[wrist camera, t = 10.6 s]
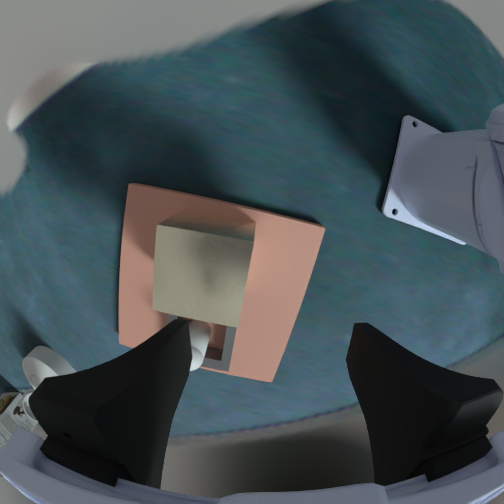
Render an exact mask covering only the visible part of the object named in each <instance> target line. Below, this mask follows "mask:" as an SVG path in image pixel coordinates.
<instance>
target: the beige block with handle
mask: <svg viewBox="0 0 504 504" xmlns="http://www.w3.org/2000/svg"><path fill="white" fill-rule="evenodd" d="M255 228H256V222H252V221H247V220H241V219H235V218H230V217H224V216H218V215H212V214H206V213H200V212H194V211H188V210H181V211H180V212H178V213H176V214H174V215H173V216H171V217H169V218H167V219H166V220H164V221H162V222H160V223H159V224H157V229H156V242H155V256H154V273H153V301H152V310H155V311H159V312H163V313H168V324H169V323H170V322H171V321H173V320H174V319H181V320H182V317H186V318H190V319H195V320H200V321H205V322H210V323H215V324H220V325H226V326H227V329H226V335H225V341H224V347H223V349H218V348H213V347H207V349H206V352H205V356H204V359H203V363H202V364H201V367H206V368H211V369H216V370H222V371H227V372H229V367H230V362H231V356H232V351H233V346H234V340H235V335H236V329H237V328H238V325H239V320H240V314H241V309H242V304H243V298H244V293H245V288H246V282H247V277H248V272H249V266H250V261H251V256H252V250H253V245H254V238H255Z"/></svg>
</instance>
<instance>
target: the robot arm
mask: <svg viewBox="0 0 504 504" xmlns="http://www.w3.org/2000/svg"><path fill="white" fill-rule="evenodd" d="M413 122H414V123H415V127H414V126H413V124H412V123H413ZM485 127H486V129H484V130H470V131H459V132H449V133H442V132H440V131H439V130H437V129H435V128H433V127H431V126H429V125H428V124H426V123H424V122H422V121H420V120H418V119H416V118H414V117H412V116H410V115H407V116H404V117H403V119H402V124H401V130H400V135H399V140H398V145H397V149H396V154H395V158H394V163H393V167H392V171H391V175H390V179H389V183H388V187H387V191H386V195H385V198H384V202H383V206H382V213H383V214H384V215H385V216H387V217H390V218H393V219H396V220H399V221H402V222H404V223H407V224H410V225H413V226H416V227H418V228H421V229H424V230H426V231H429V232H432V233H434V234H437V235H439V236H442V237H444V238H447V239H450V240H452V241H454V242H457V243H459V244H462V245H465V244H466V243H467V244H469V245H471V246H473V247H475V248H477V249H479V250H481V251H483V252H485V253H487V254H489V255H491V256H493V257H495V258H496V259H497V261H498V263H499V267H500V271H501V272H503V273H504V104H501V105H499V106H497V107H495V108H494V109H492V111H491V113H490V116H489V119H488V120H487V121H486V124H485ZM393 209H395V210H396V212H395V214H394V215H393V214H392V210H393ZM192 357H193V356H192V348H191V340H190V331H189V321H188V320H181V319H174V320H173V321H171V322H170V323H169V324H167V325H166V326H165V327H163V328H162V329H161V330H159V331H158V332H157V333H155V334H154V335H153V336H151V337H150V338H148V339H147V340H146V341H144V342H142V343H141V344H139V345H138V346H136V347H135V348H133V349H132V350H130V351H128V352H126V353H125V354H123V355H121V356H119V357H117V358H115V359H113V360H110V361H108V362H106V363H103V364H100V365H98V366H95V367H93V368H90V369H86V370H83V371H79V372H75V373H71V374H66V375H60V376H53V377H45V378H44V380H43V381H42V382H41V383H40V384H39V386H38V387H37V388H36V389H35V391H34V392H33V393H32V394H31V395H30V397H29V400H28V403H29V406H30V409H31V411H32V413H33V415H34V416H35V418H36V419H37V421H38V422H39V424H40V425H41V427H42V428H43V430H44V431H45V432H46V434H47V435H48V437H47V438H46V440H45V441H44V440H43V439H42V438H40V437H39V436H38V435H36V434H34V433H32V432H31V431H29V430H27V429H25V428H24V427H22V426H18V427H17V428H16V430H15V431H14V433H13V434H12V435H11V437H10V438H9V440H8V441H7V443H6V444H5V446H4V447H3V449H2V450H1V451H0V474H1V475H2V476H3V477H4V478H5V479H7V480H8V481H9V482H10V483H11V484H12V485H13V486H14V487H16V488H17V489H18V490H19V491H20V492H21V493H23V494H24V495H25V496H26V497H28V498H29V499H31V500H32V501H34V502H35V503H37V504H486V503H487V502H488V501H490V500H492V499H493V498H495V497H496V496H498V495H499V494H500V493H501V492H502V491H504V430H502V431H500V432H499V433H497V434H495V435H494V436H492V437H491V438H490V439H489V440H488V439H487V437H486V435H487V434H488V432H489V431H488V428H487V427H486V424H487V423H488V422H489V420H490V419H491V417H492V416H493V415H494V413H495V412H496V410H497V409H498V407H499V405H500V404H501V401H502V399H503V391H502V389H501V388H500V387H499V386H498V384H497V383H496V382H495V381H494V380H493V379H487V378H480V377H473V376H468V375H465V374H461V373H458V372H454V371H451V370H448V369H446V368H443V367H440V366H438V365H435V364H433V363H431V362H429V361H427V360H425V359H423V358H421V357H419V356H417V355H415V354H414V353H412V352H410V351H409V350H407V349H405V348H404V347H402V346H401V345H399V344H398V343H396V342H395V341H393V340H392V339H391V338H389V337H388V336H386V335H385V334H383V333H382V332H381V331H379V330H378V329H376V328H375V327H373V326H372V325H370V324H369V323H354V328H353V332H352V336H351V341H350V345H349V349H348V353H347V357H346V362H347V367H348V372H349V376H350V379H351V382H352V385H353V387H354V390H355V393H356V395H357V398H358V401H359V403H360V406H361V409H362V411H363V414H364V417H365V421H366V424H367V429H368V433H369V439H370V445H371V451H372V457H373V466H374V476H375V477H374V479H375V483H365V484H355V485H349V486H343V487H337V488H330V489H320V490H310V491H297V492H258V493H257V492H256V493H238V494H234V495H230V496H225V497H223V498H221V499H217V498H208V497H200V496H193V495H187V494H181V493H176V492H170V491H166V490H161V489H160V486H161V478H162V470H163V464H164V458H165V452H166V447H167V442H168V437H169V432H170V428H171V424H172V420H173V417H174V413H175V411H176V408H177V405H178V403H179V400H180V397H181V395H182V392H183V389H184V387H185V384H186V381H187V379H188V376H189V371H190V367H191V362H192Z"/></svg>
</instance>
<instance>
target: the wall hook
mask: <svg viewBox="0 0 504 504" xmlns="http://www.w3.org/2000/svg"><path fill="white" fill-rule="evenodd" d="M22 365H23V370H24V373H25V375H26V377H27V379H28V381H29V382H30V384H31V385H32V387H33V388H34V389H36V388H37V387H38V386H39V384H40V383H41V382H42V381H43V380H44V378H45V377H53V376H60V375H66V374H71V373H75V372H76V371H75V370H74V369H73V368H72V366H71V365H70V364H69V363H68V362H67V361H66V360H65V359H64V358H63V357H62V356H60V355H59V354H58V353H56V352H55V351H53V350H52V349H50V348H48V347H45V346H37V347H35V348H34V349H33V350H32V351H31V352H30V353H29V354H28V355H27V356H26V357H25V358H24V359H23V363H22ZM34 391H35V390H33V389H29V390H26V391H25V392H24V394H23V408H24V411H25V413H26V414H27V416H28V417H29V418H31V419H32V420H34V421H37V419H36V418H35V416H34V415H33V413H32V411H31V409H30V406H29V403H28V400H29V397H30V395H31V394H32V393H33V392H34ZM37 422H38V421H37Z"/></svg>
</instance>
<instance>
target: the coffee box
mask: <svg viewBox="0 0 504 504" xmlns="http://www.w3.org/2000/svg"><path fill="white" fill-rule="evenodd" d="M37 423H38V422H37V421H34V420H32V419H31V418H29V417H28V416H27V414H26V413H25V411H24V408H23V395H22V394H21V393H20V392H9V393H2V395H1V396H0V451H1V450H2V449H3V447H4V446H5V444H6V443H7V441H8V440H9V438H10V437H11V435H12V434H13V433H14V431H15V430H16V428H17V427H18V426H22V427H24V428H25V429H27V430H29V431H31V432H32V431H33V429H34V428H35V426H36V425H37ZM0 475H1V474H0ZM1 476H2V475H1ZM2 477H3V476H2Z"/></svg>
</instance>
